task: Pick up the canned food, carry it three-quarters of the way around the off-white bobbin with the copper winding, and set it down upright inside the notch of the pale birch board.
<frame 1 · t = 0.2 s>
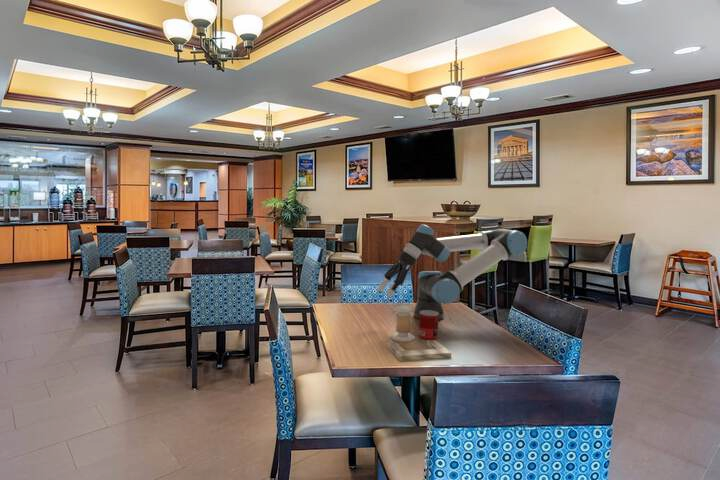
hand: (383, 293, 203), 15 cm above the table, tool tilted 35°, fingers open, 13 cm apart
bobbin: (402, 338, 188), on the table
canned food: (428, 338, 190), on the table
notched board: (418, 352, 171), on the table
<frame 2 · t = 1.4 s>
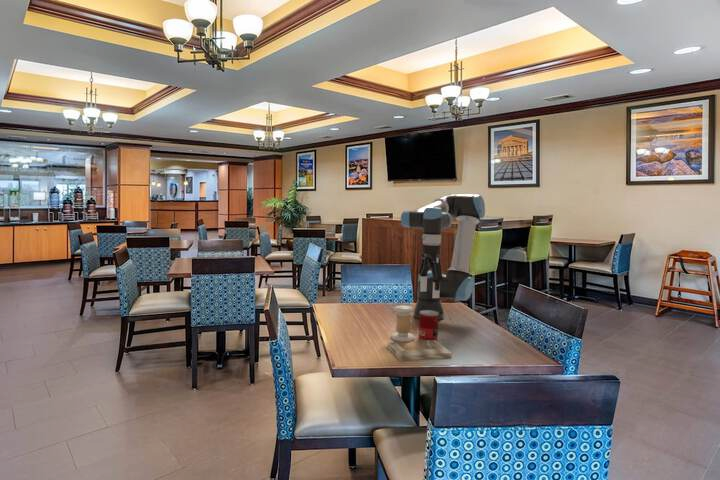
hand: (429, 294, 188), 18 cm above the table, tool pointing down, fingers open, 13 cm apart
nothing on the table moved.
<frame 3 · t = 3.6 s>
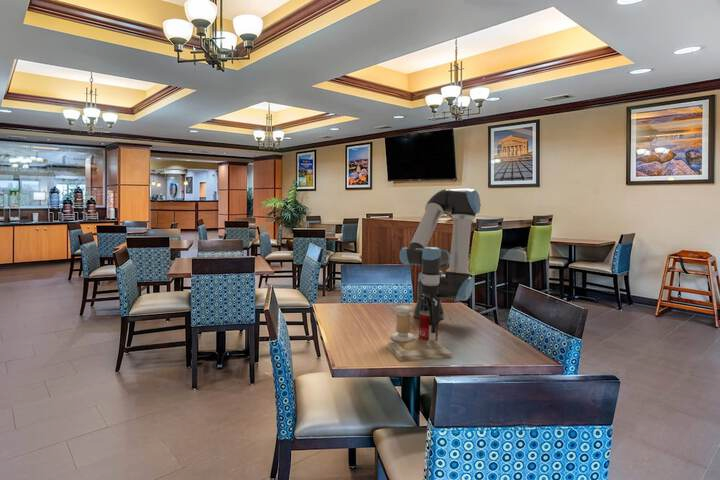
hand: (428, 336, 190), 0 cm above the table, tool pointing down, fingers closed on canned food, 8 cm apart
canned food: (428, 338, 190), on the table, touching gripper
when the fingers open (3 cm above the table, at t = 11.1 s): canned food drops 2 cm, on the table.
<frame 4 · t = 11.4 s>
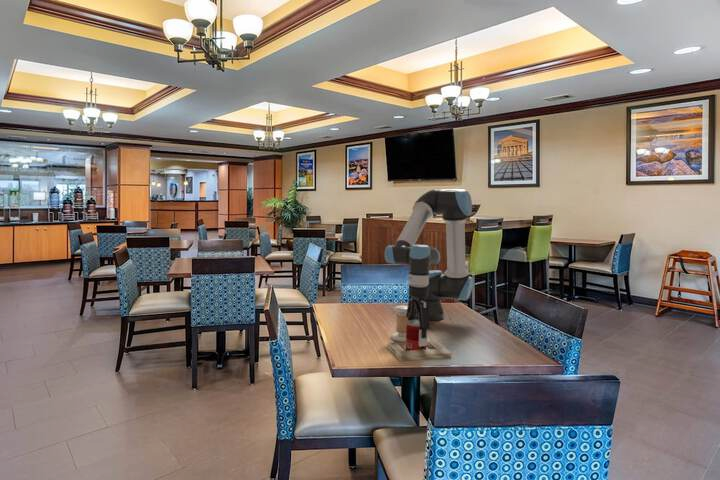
hand: (416, 341, 173), 4 cm above the table, tool pointing down, fingers open, 11 cm apart
canned food: (415, 350, 173), on the table
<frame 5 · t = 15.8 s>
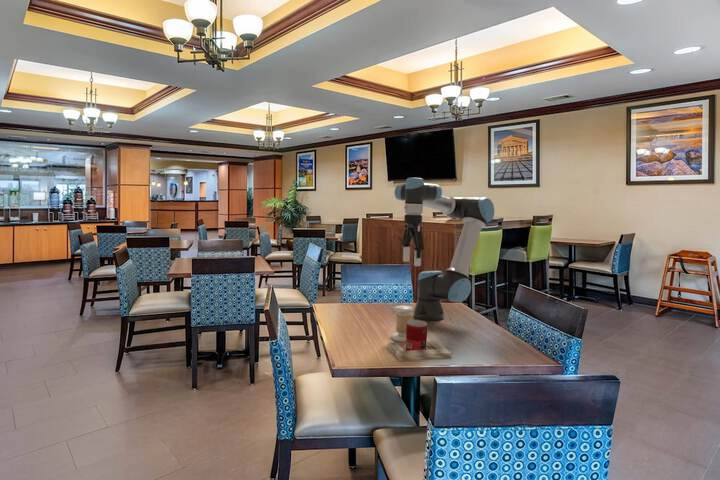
hand: (411, 263, 193), 31 cm above the table, tool pointing down, fingers open, 13 cm apart
nothing on the table moved.
at the end: canned food inside the target area on the notched board (0.1 cm from its centre), point 0.0 cm above the notched board's base; canned food tilted 0°; the gripper is holding nothing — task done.
